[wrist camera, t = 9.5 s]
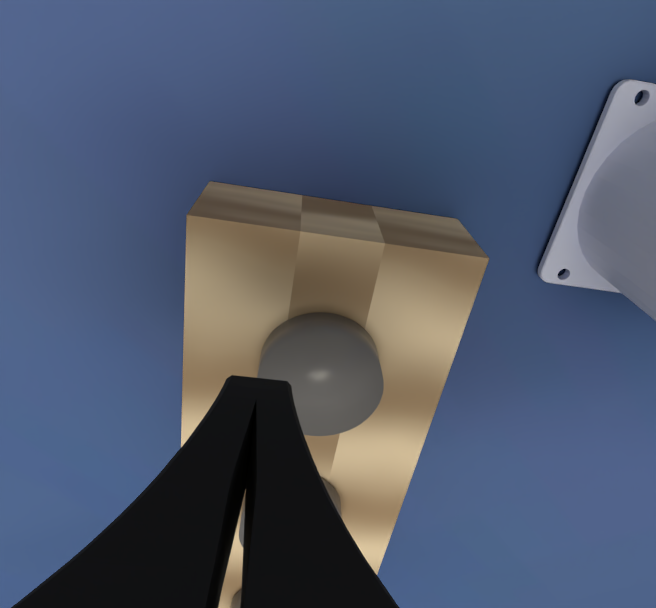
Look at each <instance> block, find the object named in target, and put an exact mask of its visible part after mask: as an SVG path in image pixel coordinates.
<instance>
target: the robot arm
mask: <svg viewBox="0 0 656 608" xmlns="http://www.w3.org/2000/svg"><path fill="white" fill-rule="evenodd" d="M641 90H642V92H643V97H642V99H641V101H640V102H639V103H637V104H635V101H634V100H635V96H636V95H637V93H638V92H640V91H641ZM562 269H566V271H565V272H564V274H562V275H560V276H558V273H559V271H560V270H562ZM538 276H539V277H540V278H541V279H542V280H543V281H545V282H547V283H554V284H561V285H568V286H575V287H582V288H589V289H597V290H604V291H611V292H618V293H622V294H624V295H625V296H626V297H627V298H628V299H630V300H631V301H632V302H633V303H634V304H636V305H637V306H638V307H639V308H640V309H642V310H643V311H644V312H645V313H647V314H648V315H649V316H650V317H651V318H653V319H654V320H655V321H656V84H653V83H648V82H642V81H637V80H631V79H627V80H622V81H620V82H618V83H617V84H616V85H615V86H614V87H613V89H612V91H611V93H610V95H609V97H608V100H607V102H606V105H605V107H604V110H603V112H602V114H601V117H600V119H599V122H598V124H597V127H596V129H595V131H594V134H593V136H592V139H591V141H590V144H589V146H588V148H587V151H586V153H585V156H584V158H583V160H582V163H581V165H580V168H579V170H578V173H577V175H576V177H575V180H574V182H573V185H572V187H571V190H570V192H569V194H568V197H567V199H566V202H565V204H564V207H563V209H562V211H561V214H560V216H559V219H558V221H557V224H556V226H555V228H554V231H553V233H552V236H551V238H550V240H549V243H548V245H547V248H546V250H545V253H544V255H543V257H542V260H541V262H540V265H539V267H538ZM245 489H246V492H245ZM244 494H245V516H244V541H243V566H242V590H241V604H240V608H399V607H398V605H397V604H396V602H395V601H394V600H393V598H392V597H391V595H390V594H389V592H388V591H387V589H386V588H385V586H384V585H383V584H382V582H381V581H380V579H379V578H378V576H377V575H376V573H375V572H374V570H373V569H372V568H371V566H370V565H369V563H368V562H367V560H366V559H365V557H364V556H363V554H362V552H361V551H360V549H359V547H358V546H357V544H356V542H355V541H354V539H353V538H352V536H351V534H350V533H349V531H348V529H347V527H346V525H345V524H344V522H343V520H342V518H341V517H340V515H339V513H338V511H337V509H336V507H335V505H334V503H333V502H332V499H331V497H330V495H329V493H328V491H327V489H326V487H325V485H324V483H323V481H322V479H321V476H320V474H319V472H318V470H317V467H316V465H315V463H314V460H313V458H312V455H311V453H310V450H309V447H308V445H307V442H306V440H305V437H304V434H303V431H302V428H301V425H300V422H299V419H298V415H297V412H296V408H295V404H294V400H293V394H292V386H291V385H290V384H289V382H288V381H282V380H273V379H264V378H255V377H245V376H236V375H231V376H230V377H228V378H227V379H226V381H225V383H224V385H223V387H222V389H221V391H220V392H219V394H218V396H217V398H216V399H215V401H214V403H213V404H212V406H211V407H210V409H209V410H208V412H207V413H206V415H205V416H204V418H203V419H202V420H201V422H200V423H199V425H198V426H197V427H196V429H195V430H194V431H193V433H192V434H191V436H190V437H189V438H188V440H187V441H186V442H185V443H184V445H183V446H182V447H181V448H180V450H179V451H178V452H177V453H176V454H175V456H174V457H173V458H172V459H171V460H170V462H169V463H168V464H167V465H166V466H165V468H164V469H163V470H162V471H161V472H160V474H159V475H158V476H157V477H156V478H155V479H154V480H153V481H152V482H151V483H150V485H149V486H148V487H147V488H146V489H145V490H144V491H143V492H142V493H141V494H140V495H139V496H138V497H137V498H136V499H135V500H134V501H133V502H132V503H131V504H130V505H129V506H128V507H127V508H126V509H125V510H124V511H123V512H122V513H121V514H120V515H119V516H118V517H117V518H116V519H115V520H114V521H113V522H112V523H111V524H110V525H109V526H108V527H107V528H105V529H104V530H103V531H102V532H101V533H100V534H99V535H98V536H97V537H96V538H95V539H94V540H93V541H92V542H90V543H89V544H88V545H87V546H86V547H85V548H84V549H83V550H81V551H80V552H79V553H78V554H77V555H76V556H74V557H73V558H72V559H71V560H70V561H69V562H67V563H66V564H65V565H64V566H62V567H61V568H60V569H59V570H57V571H56V572H55V573H54V574H53V575H51V576H50V577H49V578H48V579H46V580H45V581H44V582H43V583H41V584H40V585H39V586H38V587H37V588H35V589H34V590H33V591H32V592H30V593H29V594H28V595H27V596H25V597H24V598H23V599H22V600H20V601H19V602H18V603H17V604H15V605H14V606H13V607H11V608H218V607H219V601H220V596H221V591H222V587H223V583H224V578H225V574H226V570H227V566H228V562H229V557H230V553H231V549H232V545H233V540H234V536H235V532H236V528H237V524H238V519H239V515H240V511H241V507H242V502H243V498H244Z"/></svg>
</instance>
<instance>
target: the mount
mask: <svg viewBox="0 0 656 608" xmlns="http://www.w3.org/2000/svg"><path fill="white" fill-rule="evenodd" d="M488 261H489V258H488V256H487V255H486V254H485V253H484V251H483V250H482V249H481V248H480V246H479V245H478V244H477V243H476V241H475V240H474V239H473V238H472V236H471V235H470V234H469V233H468V231H467V230H466V229H465V228H464V226H463V225H462V224H461V223H460V221H459V220H458V219H455V218H449V217H442V216H435V215H429V214H422V213H416V212H409V211H402V210H396V209H389V208H383V207H376V206H370V205H363V204H356V203H350V202H343V201H337V200H330V199H324V198H317V197H310V196H304V195H297V194H291V193H284V192H278V191H271V190H264V189H258V188H251V187H245V186H238V185H232V184H225V183H218V182H212V181H210V182H209V183H208V185H207V186H206V187H205V189H204V190H203V192H202V193H201V195H200V196H199V198H198V199H197V201H196V202H195V204H194V205H193V206H192V208H191V209H190V211H189V212H188V214H187V221H186V263H185V304H184V346H183V388H182V429H181V447H182V446H183V445H184V443H185V442H186V441H187V440H188V438H189V437H190V436H191V434H192V433H193V431H194V430H195V429H196V427H197V426H198V425H199V423H200V422H201V420H202V419H203V418H204V416H205V415H206V413H207V412H208V410H209V409H210V407H211V406H212V404H213V403H214V401H215V399H216V398H217V396H218V394H219V392H220V391H221V389H222V387H223V385H224V383H225V381H226V379H227V378H228V377H230V376H231V375H236V376H245V377H255V378H257V375H258V369H259V362H260V356H261V351H262V348H263V345H264V343H265V341H266V339H267V338H268V337H269V335H270V334H271V333H272V332H273V331H274V330H275V329H276V328H277V327H278V326H279V325H281V324H282V323H284V322H285V321H287V320H289V319H291V318H294V317H296V316H299V315H303V314H307V313H316V312H324V313H333V314H338V315H341V316H344V317H347V318H349V319H351V320H353V321H355V322H356V323H358V324H359V325H360V326H362V327H363V328H364V329H365V330H366V331H367V332H368V333H369V335H370V336H371V337H372V339H373V341H374V343H375V345H376V348H377V351H378V356H379V361H380V365H381V370H382V375H383V381H384V390H383V395H382V398H381V401H380V403H379V405H378V407H377V408H376V410H375V411H374V412H373V414H372V415H371V416H370V417H369V418H368V419H367V420H365V421H364V422H363V423H361V424H360V425H358V426H357V427H355V428H353V429H351V430H348V431H346V432H343V433H339V434H335V435H329V436H309V435H304V437H305V440H306V442H307V445H308V447H309V450H310V453H311V455H312V458H313V460H314V463H315V465H316V467H317V470H318V472H319V474H320V476H321V478H322V479H324V480H325V481H327V482H328V483H330V484H331V485H332V486H333V487H334V488H335V489H336V491H337V493H338V495H339V497H340V501H341V515H342V520H343V522H344V524H345V525H346V527H347V529H348V531H349V533H350V534H351V536H352V538H353V539H354V541H355V542H356V544H357V546H358V547H359V549H360V551H361V552H362V554H363V556H364V557H365V559H366V560H367V562H368V563H369V565H370V566H371V568H372V569H373V570H374V572H375V573H376V575H377V573H378V571H379V568H380V565H381V562H382V559H383V557H384V554H385V551H386V548H387V545H388V542H389V540H390V537H391V534H392V531H393V528H394V526H395V523H396V520H397V517H398V514H399V511H400V509H401V506H402V503H403V500H404V497H405V495H406V492H407V489H408V486H409V483H410V480H411V478H412V475H413V472H414V469H415V466H416V464H417V461H418V458H419V455H420V452H421V449H422V447H423V444H424V441H425V438H426V435H427V433H428V430H429V427H430V424H431V421H432V419H433V416H434V413H435V410H436V407H437V404H438V402H439V399H440V396H441V393H442V390H443V388H444V385H445V382H446V379H447V376H448V373H449V371H450V368H451V365H452V362H453V359H454V357H455V354H456V351H457V348H458V345H459V342H460V340H461V337H462V334H463V331H464V328H465V326H466V323H467V320H468V317H469V314H470V312H471V309H472V306H473V303H474V300H475V297H476V295H477V292H478V289H479V286H480V283H481V281H482V278H483V275H484V272H485V269H486V266H487V264H488ZM245 492H246V489H245ZM244 497H245V494H244ZM243 500H244V498H243ZM242 507H243V502H242ZM242 507H241V511H240V515H239V519H238V524H237V528H236V532H235V536H234V540H233V545H232V549H231V553H230V557H229V562H228V566H227V570H226V574H225V578H224V583H223V587H222V591H221V596H220V601H219V607H218V608H231V602H232V599H233V597H234V596H235V595H236V594H237V593H238V592H239V591H240V590H242V566H243V547H242V545H241V543H240V540H239V528H240V521H241V514H242Z"/></svg>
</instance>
